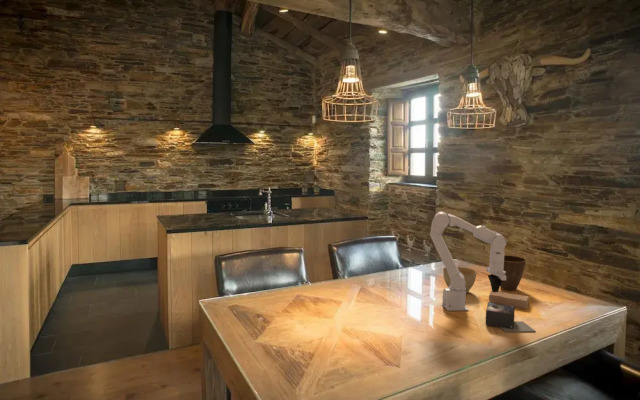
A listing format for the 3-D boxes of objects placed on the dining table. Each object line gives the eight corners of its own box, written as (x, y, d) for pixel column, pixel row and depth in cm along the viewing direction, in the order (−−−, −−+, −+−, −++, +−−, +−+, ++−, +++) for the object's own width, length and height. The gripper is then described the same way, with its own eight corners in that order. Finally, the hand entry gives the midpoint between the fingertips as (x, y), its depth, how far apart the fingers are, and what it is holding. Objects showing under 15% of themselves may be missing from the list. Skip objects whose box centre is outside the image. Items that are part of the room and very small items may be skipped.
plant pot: (496, 282, 227) (498, 253, 225) (526, 287, 218) (528, 257, 217) (489, 289, 215) (491, 259, 213) (521, 295, 206) (523, 263, 204)
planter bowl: (478, 289, 214) (479, 269, 212) (471, 298, 200) (472, 276, 199) (447, 284, 222) (448, 264, 221) (438, 292, 209) (439, 271, 207)
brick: (528, 304, 193) (529, 294, 193) (527, 310, 186) (528, 300, 186) (490, 298, 202) (491, 289, 201) (488, 303, 194) (488, 294, 194)
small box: (514, 305, 172) (515, 314, 162) (514, 320, 173) (514, 330, 163) (487, 301, 176) (486, 309, 167) (486, 316, 177) (485, 325, 167)
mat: (505, 332, 161) (505, 331, 161) (494, 322, 171) (494, 321, 171) (535, 332, 162) (535, 330, 162) (522, 322, 171) (522, 321, 171)
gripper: (514, 265, 174) (512, 297, 175) (498, 257, 189) (496, 286, 190) (497, 265, 174) (495, 297, 175) (482, 257, 188) (481, 286, 190)
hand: (495, 291), depth 183 cm, fingers closed
